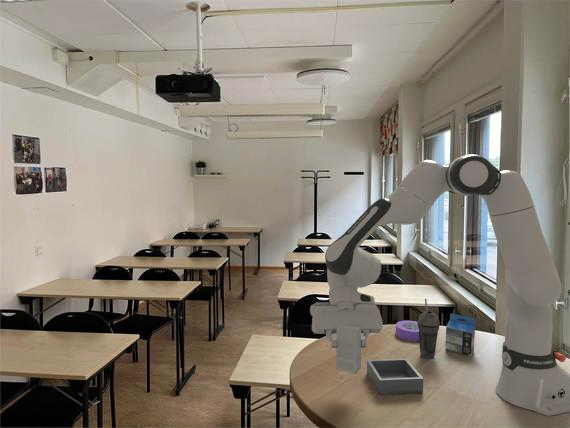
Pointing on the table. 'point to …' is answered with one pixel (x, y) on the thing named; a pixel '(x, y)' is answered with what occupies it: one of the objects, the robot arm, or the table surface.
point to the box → (394, 377)
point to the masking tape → (407, 330)
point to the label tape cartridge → (460, 335)
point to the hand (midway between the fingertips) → (349, 347)
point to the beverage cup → (428, 333)
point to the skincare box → (348, 348)
